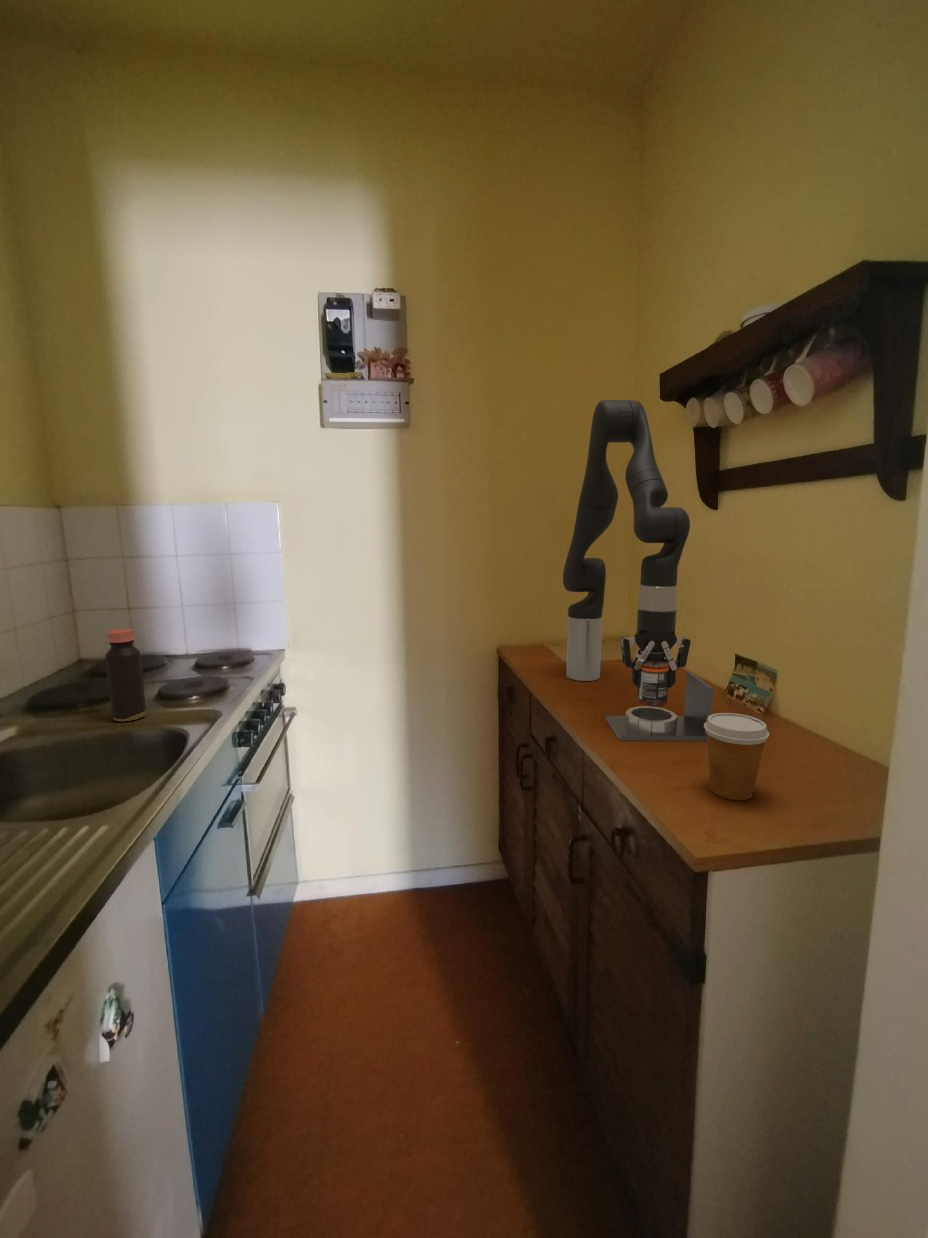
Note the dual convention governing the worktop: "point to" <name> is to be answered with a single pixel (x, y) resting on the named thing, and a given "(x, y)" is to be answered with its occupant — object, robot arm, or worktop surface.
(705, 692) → the cup bracket
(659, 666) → the supplement bottle
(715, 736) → the disposable coffee cup
